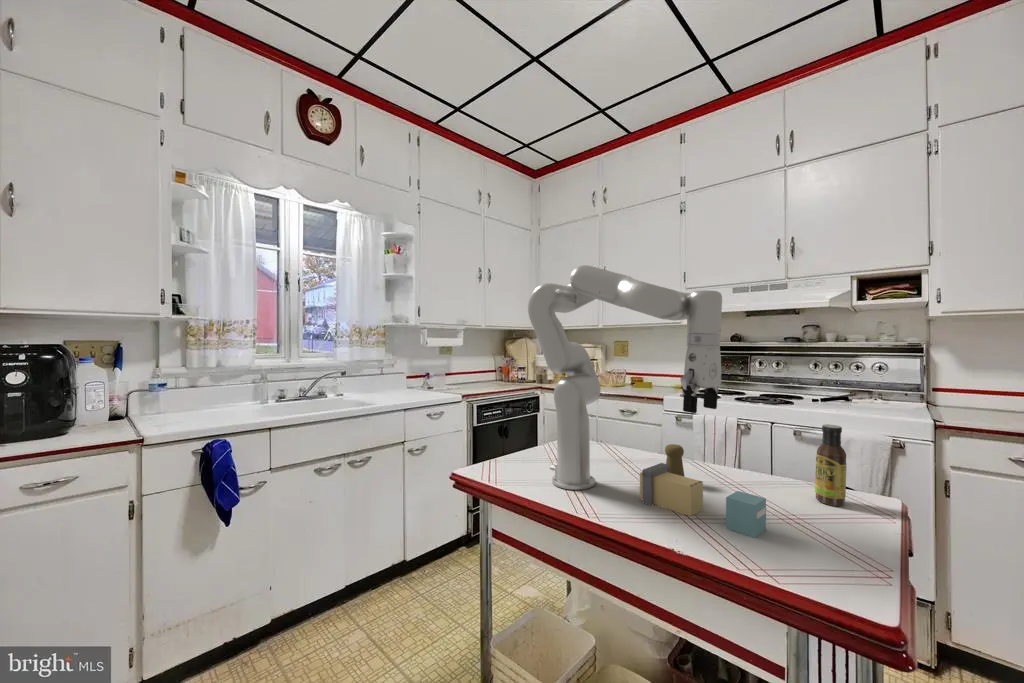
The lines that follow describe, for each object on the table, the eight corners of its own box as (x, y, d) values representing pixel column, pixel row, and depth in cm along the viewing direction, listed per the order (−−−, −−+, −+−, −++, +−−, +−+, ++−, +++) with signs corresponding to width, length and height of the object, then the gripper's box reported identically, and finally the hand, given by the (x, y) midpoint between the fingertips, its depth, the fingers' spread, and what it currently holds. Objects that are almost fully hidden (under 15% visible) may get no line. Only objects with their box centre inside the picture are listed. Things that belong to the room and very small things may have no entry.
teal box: (726, 528, 94) (726, 497, 94) (737, 520, 98) (737, 490, 98) (755, 538, 89) (755, 505, 89) (766, 529, 93) (766, 498, 93)
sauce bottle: (809, 498, 111) (809, 423, 110) (829, 497, 112) (829, 422, 111) (831, 508, 104) (831, 428, 104) (853, 506, 105) (852, 427, 105)
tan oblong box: (636, 500, 111) (636, 468, 110) (655, 492, 116) (655, 461, 116) (687, 518, 100) (687, 481, 100) (705, 508, 105) (705, 473, 105)
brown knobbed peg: (681, 478, 127) (681, 442, 127) (688, 485, 121) (688, 447, 121) (661, 478, 128) (661, 442, 127) (666, 485, 122) (666, 447, 121)
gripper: (700, 342, 95) (696, 416, 96) (735, 341, 106) (731, 409, 106) (669, 340, 101) (666, 411, 102) (706, 340, 112) (703, 404, 112)
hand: (700, 410), depth 104 cm, fingers open, 9 cm apart
